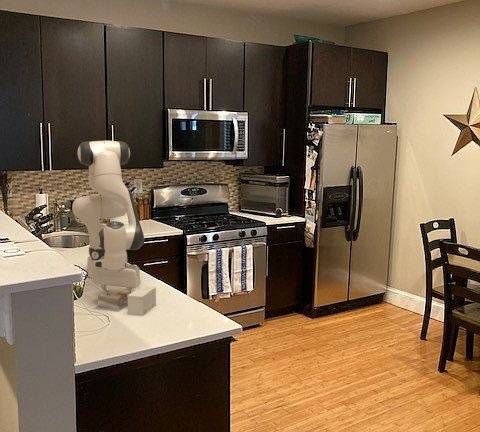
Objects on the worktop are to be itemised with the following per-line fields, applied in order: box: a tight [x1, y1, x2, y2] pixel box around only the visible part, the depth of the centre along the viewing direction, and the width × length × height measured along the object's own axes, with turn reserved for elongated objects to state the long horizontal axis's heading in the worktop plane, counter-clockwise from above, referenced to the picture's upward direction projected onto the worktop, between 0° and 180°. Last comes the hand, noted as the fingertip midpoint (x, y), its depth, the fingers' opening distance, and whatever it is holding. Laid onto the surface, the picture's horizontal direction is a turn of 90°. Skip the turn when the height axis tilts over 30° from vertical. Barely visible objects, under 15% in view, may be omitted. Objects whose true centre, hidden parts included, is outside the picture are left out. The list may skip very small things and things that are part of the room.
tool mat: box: [93, 300, 128, 313], centre depth 212 cm, size 20×11×1 cm, turn 163°
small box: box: [127, 285, 157, 317], centre depth 203 cm, size 8×6×13 cm
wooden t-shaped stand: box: [97, 288, 132, 310], centre depth 211 cm, size 16×9×4 cm, turn 163°
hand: (116, 296), depth 210 cm, fingers open, 8 cm apart
